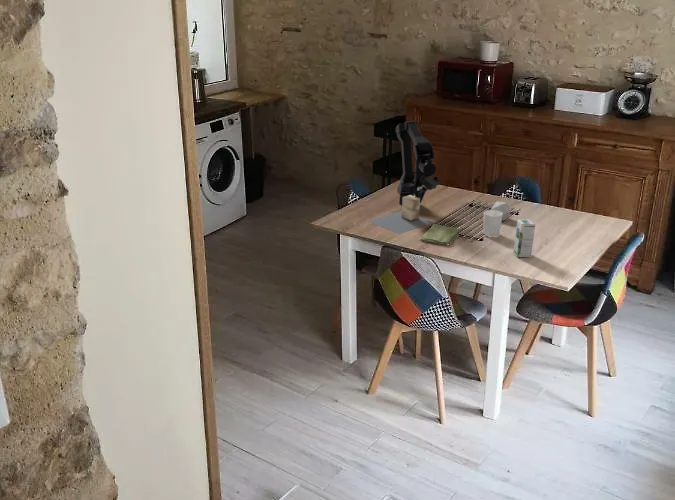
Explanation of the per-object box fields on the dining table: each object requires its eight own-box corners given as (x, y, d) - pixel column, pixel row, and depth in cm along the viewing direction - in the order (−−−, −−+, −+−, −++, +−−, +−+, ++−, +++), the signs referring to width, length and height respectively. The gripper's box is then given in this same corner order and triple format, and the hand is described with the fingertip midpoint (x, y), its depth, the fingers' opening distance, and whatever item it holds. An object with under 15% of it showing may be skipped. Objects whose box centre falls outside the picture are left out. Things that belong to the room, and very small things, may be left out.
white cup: (501, 232, 306) (503, 211, 302) (499, 239, 299) (501, 217, 295) (483, 230, 308) (485, 209, 304) (480, 236, 301) (482, 215, 297)
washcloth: (419, 242, 296) (419, 235, 295) (432, 229, 311) (432, 222, 309) (449, 248, 291) (449, 240, 289) (461, 233, 305) (461, 226, 304)
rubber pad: (402, 212, 328) (402, 210, 328) (433, 224, 314) (434, 222, 314) (367, 223, 315) (367, 221, 315) (399, 236, 301) (399, 233, 301)
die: (511, 218, 324) (503, 199, 325) (514, 215, 315) (506, 196, 316) (494, 225, 324) (486, 206, 325) (497, 222, 315) (489, 202, 317)
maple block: (409, 215, 321) (410, 194, 317) (418, 219, 317) (420, 198, 313) (401, 218, 318) (402, 197, 314) (411, 221, 314) (412, 200, 310)
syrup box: (512, 252, 286) (516, 219, 280) (527, 252, 286) (531, 218, 280) (517, 258, 280) (521, 224, 275) (531, 257, 281) (536, 223, 275)
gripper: (420, 177, 301) (418, 211, 307) (449, 169, 312) (446, 202, 319) (401, 171, 309) (400, 205, 315) (430, 164, 320) (428, 196, 326)
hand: (419, 202), depth 319 cm, fingers closed
